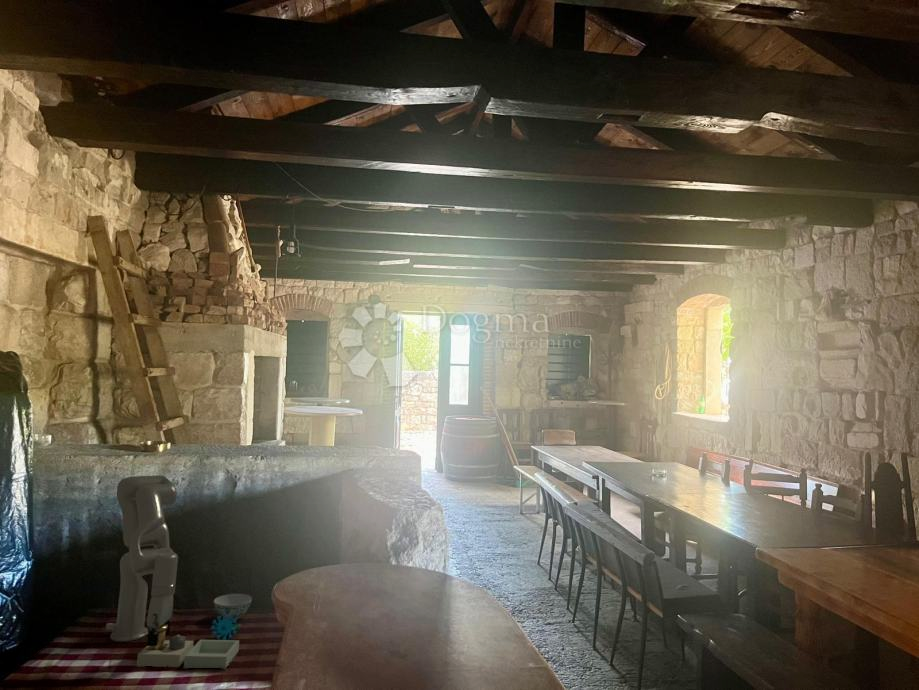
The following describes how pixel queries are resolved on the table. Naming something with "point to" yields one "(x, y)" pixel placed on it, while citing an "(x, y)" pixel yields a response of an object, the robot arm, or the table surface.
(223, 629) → the teal lobed piece
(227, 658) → the tray
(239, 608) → the chinaware
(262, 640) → the table surface
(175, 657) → the beige boxy piece
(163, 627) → the pin
